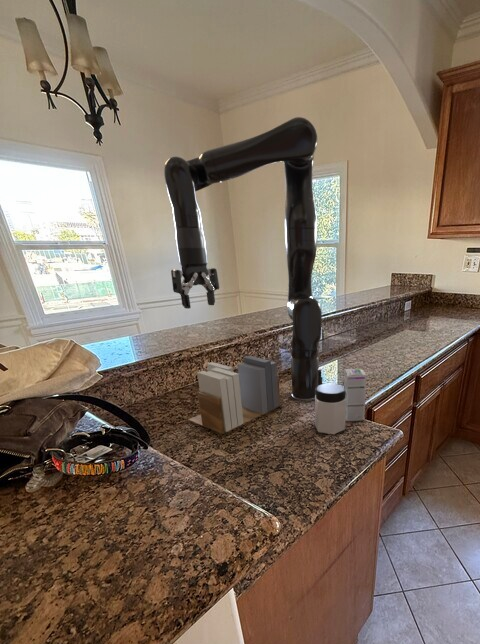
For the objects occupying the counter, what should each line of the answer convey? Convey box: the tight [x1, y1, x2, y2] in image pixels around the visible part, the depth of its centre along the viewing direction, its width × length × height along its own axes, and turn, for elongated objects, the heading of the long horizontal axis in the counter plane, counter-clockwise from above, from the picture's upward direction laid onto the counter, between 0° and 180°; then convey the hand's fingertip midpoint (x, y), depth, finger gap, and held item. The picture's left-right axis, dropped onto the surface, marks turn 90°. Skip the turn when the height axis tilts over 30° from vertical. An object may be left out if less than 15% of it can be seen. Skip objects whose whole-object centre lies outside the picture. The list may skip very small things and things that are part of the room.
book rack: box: [188, 374, 282, 435], centre depth 106 cm, size 24×15×11 cm, turn 145°
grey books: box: [236, 355, 280, 415], centre depth 108 cm, size 7×9×16 cm
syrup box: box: [343, 368, 367, 422], centre depth 104 cm, size 6×6×14 cm
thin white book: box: [206, 361, 235, 373], centre depth 103 cm, size 2×9×15 cm, turn 55°
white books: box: [196, 368, 244, 433], centre depth 97 cm, size 6×9×15 cm
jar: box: [314, 382, 346, 435], centre depth 98 cm, size 9×8×12 cm
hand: (199, 306), depth 105 cm, fingers open, 8 cm apart
